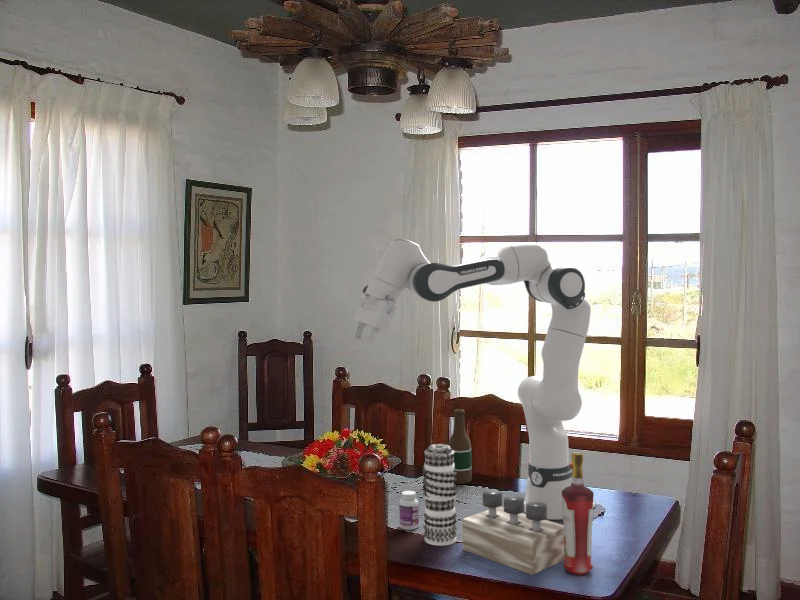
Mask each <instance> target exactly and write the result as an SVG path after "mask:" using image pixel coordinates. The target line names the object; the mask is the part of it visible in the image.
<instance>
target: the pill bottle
mask: <svg viewBox="0 0 800 600" xmlns="http://www.w3.org/2000/svg"><path fill="white" fill-rule="evenodd" d="M398 506H399V527H400V528H401V529H402V530H406V531H409V530H412V531H413V530H416V529H417V528H419V526H420V522H419V521H420V515H419V513H420V512H419V507H420V506H419V500H418V499H417V492H416V491H414V490H404V491H402V492H401V499H400V500H399V505H398Z"/></svg>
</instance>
